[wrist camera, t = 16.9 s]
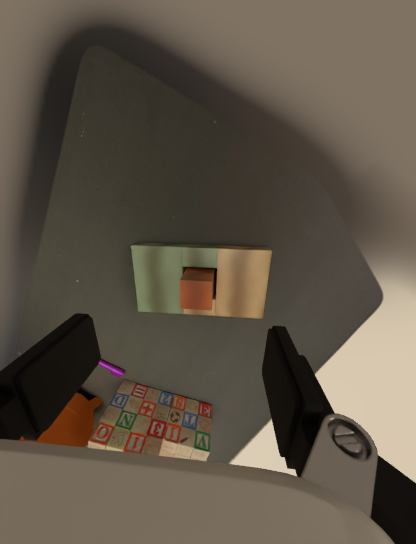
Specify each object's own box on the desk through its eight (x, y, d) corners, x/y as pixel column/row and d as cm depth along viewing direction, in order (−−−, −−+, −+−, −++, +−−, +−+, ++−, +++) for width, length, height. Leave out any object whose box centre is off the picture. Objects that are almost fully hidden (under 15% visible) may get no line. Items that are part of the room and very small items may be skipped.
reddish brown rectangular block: (214, 266, 33) (212, 281, 27) (213, 290, 35) (211, 310, 28) (188, 265, 34) (179, 279, 27) (188, 289, 35) (180, 308, 29)
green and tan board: (268, 247, 32) (272, 250, 29) (260, 311, 36) (262, 318, 33) (137, 242, 33) (130, 245, 31) (143, 304, 37) (138, 311, 35)
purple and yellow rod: (126, 370, 43) (58, 336, 41) (123, 375, 42) (54, 340, 40) (123, 375, 44) (58, 342, 42) (120, 380, 43) (53, 347, 42)
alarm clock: (50, 386, 46) (-67, 511, 28) (62, 373, 45) (-55, 496, 26) (96, 415, 49) (17, 549, 30) (109, 404, 47) (33, 538, 28)
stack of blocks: (212, 403, 44) (209, 474, 33) (205, 421, 47) (200, 493, 35) (122, 379, 44) (86, 442, 32) (119, 397, 46) (84, 463, 34)
